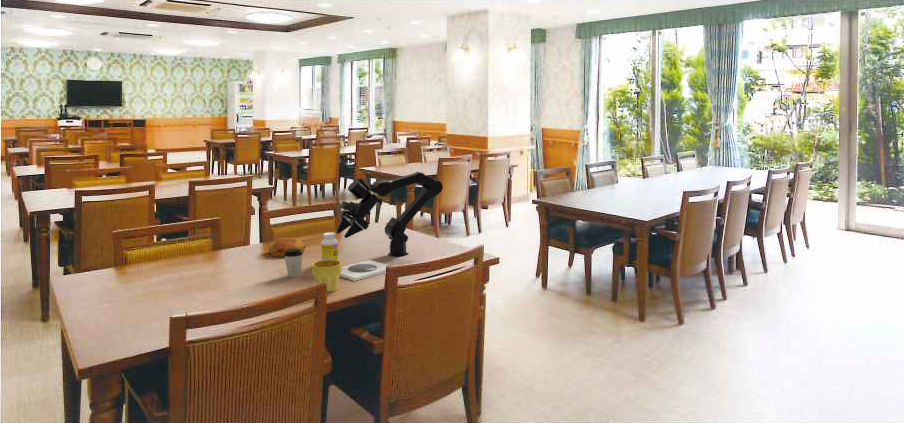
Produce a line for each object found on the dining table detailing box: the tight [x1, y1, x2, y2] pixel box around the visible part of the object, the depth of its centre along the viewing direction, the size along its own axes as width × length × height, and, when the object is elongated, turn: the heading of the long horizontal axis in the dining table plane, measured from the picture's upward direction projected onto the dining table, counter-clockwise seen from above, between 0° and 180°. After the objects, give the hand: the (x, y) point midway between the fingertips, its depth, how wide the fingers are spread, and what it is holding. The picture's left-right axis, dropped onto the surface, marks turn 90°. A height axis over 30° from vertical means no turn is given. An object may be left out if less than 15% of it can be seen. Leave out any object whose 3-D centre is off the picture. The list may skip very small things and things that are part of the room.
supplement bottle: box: [320, 232, 340, 261], centre depth 254 cm, size 7×7×13 cm
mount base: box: [340, 259, 388, 282], centre depth 245 cm, size 20×16×2 cm
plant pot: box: [311, 259, 343, 292], centre depth 221 cm, size 10×10×10 cm
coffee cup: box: [284, 249, 303, 279], centre depth 239 cm, size 7×7×10 cm
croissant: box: [268, 236, 306, 257], centre depth 274 cm, size 14×16×8 cm
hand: (340, 235), depth 256 cm, fingers open, 9 cm apart
